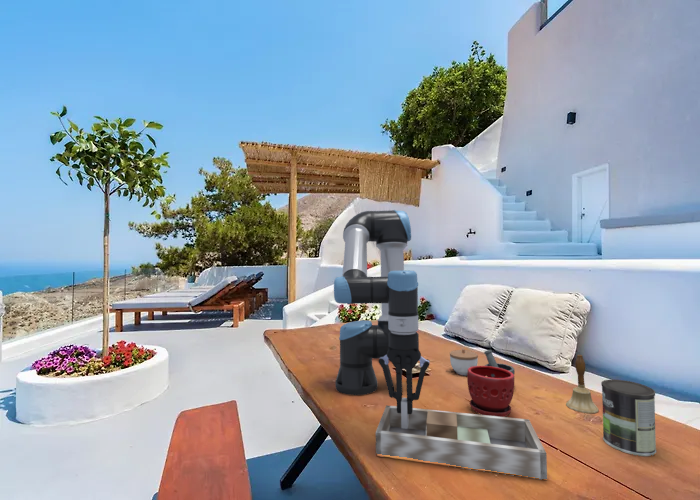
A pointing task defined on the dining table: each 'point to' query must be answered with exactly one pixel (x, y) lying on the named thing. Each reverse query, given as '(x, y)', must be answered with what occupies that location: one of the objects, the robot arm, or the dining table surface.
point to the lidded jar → (463, 360)
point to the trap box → (466, 442)
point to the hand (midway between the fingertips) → (405, 425)
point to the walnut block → (442, 425)
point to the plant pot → (490, 390)
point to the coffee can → (629, 417)
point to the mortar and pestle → (494, 364)
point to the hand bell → (581, 392)
